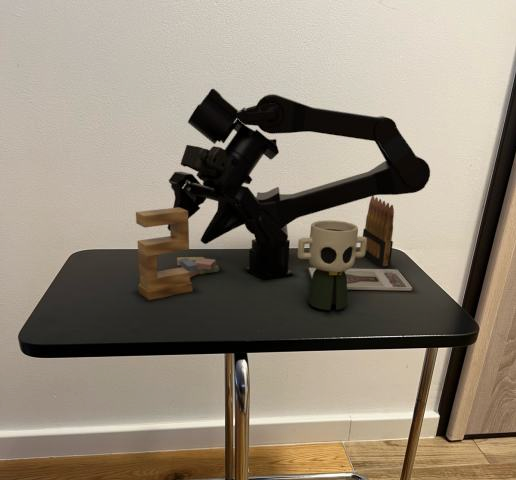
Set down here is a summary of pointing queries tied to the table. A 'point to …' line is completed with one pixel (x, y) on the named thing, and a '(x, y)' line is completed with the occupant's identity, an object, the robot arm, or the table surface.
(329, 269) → the character mug
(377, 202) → the ammunition clip
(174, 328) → the table surface
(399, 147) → the robot arm
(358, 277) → the graded card
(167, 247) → the wooden numeral
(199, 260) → the letter pile
